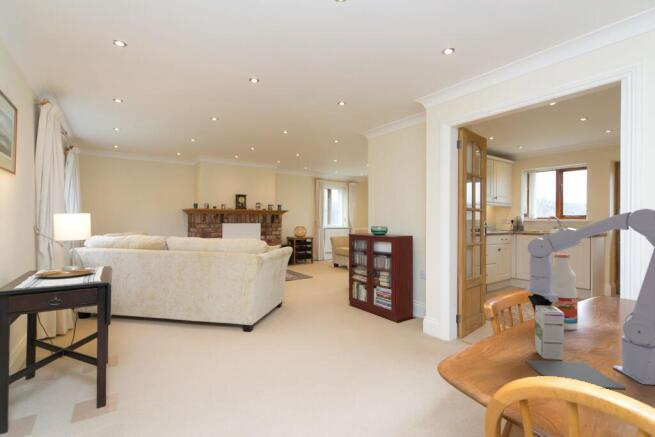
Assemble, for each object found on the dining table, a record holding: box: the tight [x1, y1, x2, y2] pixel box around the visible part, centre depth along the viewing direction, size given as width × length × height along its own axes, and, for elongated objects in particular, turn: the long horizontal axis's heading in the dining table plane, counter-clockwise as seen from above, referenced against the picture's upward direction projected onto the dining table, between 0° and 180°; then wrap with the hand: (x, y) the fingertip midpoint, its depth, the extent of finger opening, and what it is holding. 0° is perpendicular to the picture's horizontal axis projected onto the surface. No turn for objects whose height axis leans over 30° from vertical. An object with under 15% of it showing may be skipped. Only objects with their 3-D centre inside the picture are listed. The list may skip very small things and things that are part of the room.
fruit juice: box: [551, 253, 579, 331], centre depth 124 cm, size 9×9×28 cm
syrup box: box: [534, 305, 565, 361], centre depth 96 cm, size 6×6×14 cm
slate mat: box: [525, 359, 626, 390], centre depth 85 cm, size 14×16×1 cm
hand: (540, 319), depth 101 cm, fingers closed
